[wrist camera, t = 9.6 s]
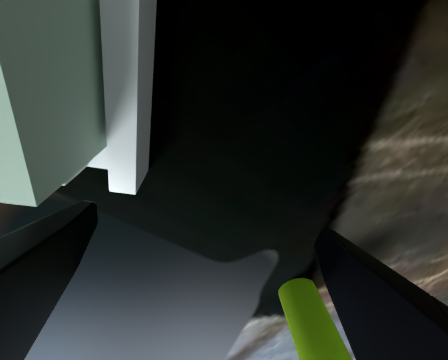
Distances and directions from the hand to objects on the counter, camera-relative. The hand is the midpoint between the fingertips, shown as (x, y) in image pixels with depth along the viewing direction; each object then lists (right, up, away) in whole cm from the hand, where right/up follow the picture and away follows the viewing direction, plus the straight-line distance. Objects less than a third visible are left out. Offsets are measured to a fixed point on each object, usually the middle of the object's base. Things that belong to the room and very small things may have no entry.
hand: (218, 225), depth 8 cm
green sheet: (-9, +10, +7) cm, 15 cm away
